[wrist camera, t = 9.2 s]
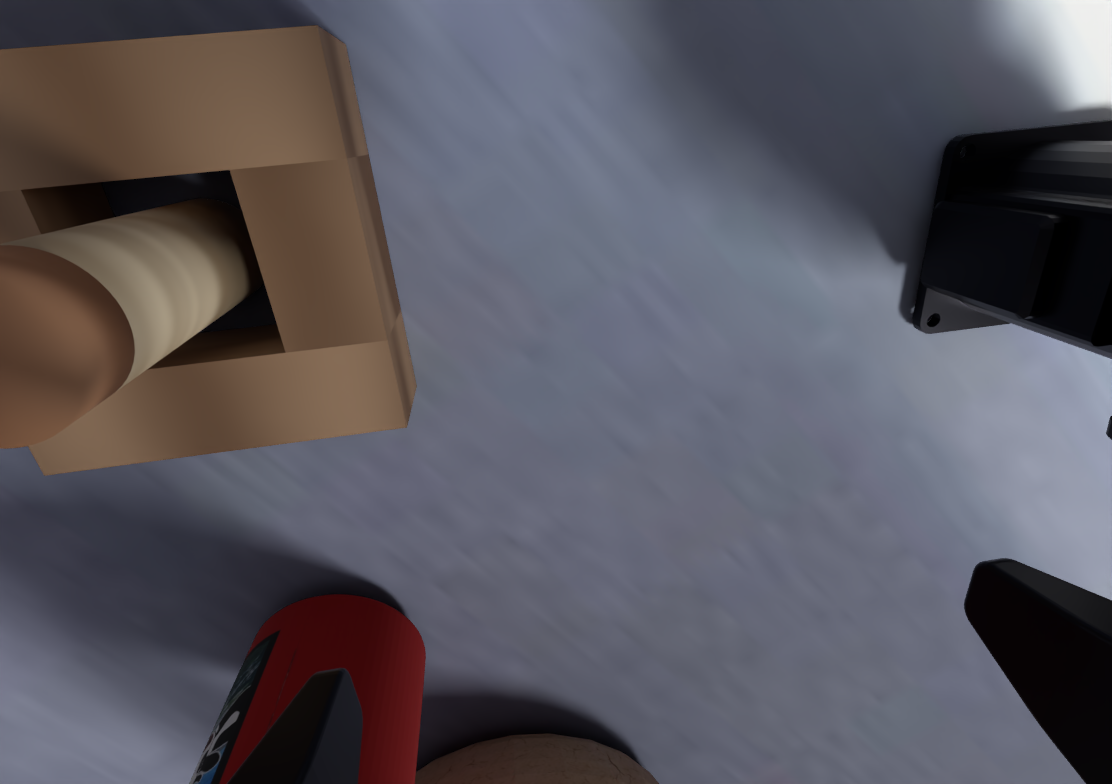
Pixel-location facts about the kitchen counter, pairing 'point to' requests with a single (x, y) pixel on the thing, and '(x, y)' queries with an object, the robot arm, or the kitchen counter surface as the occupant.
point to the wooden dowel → (110, 306)
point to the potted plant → (535, 763)
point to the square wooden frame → (271, 217)
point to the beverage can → (317, 645)
